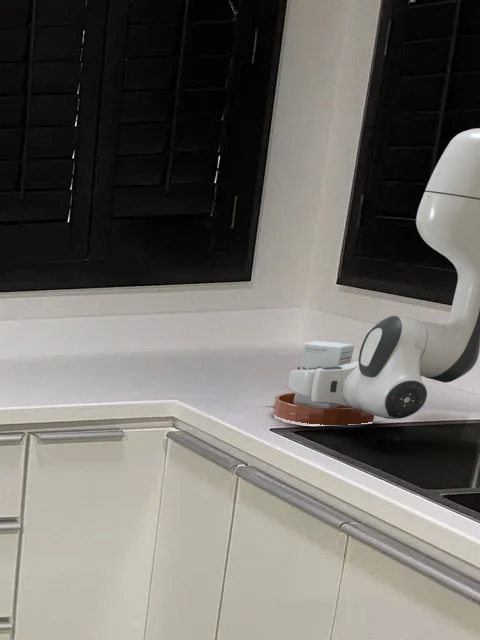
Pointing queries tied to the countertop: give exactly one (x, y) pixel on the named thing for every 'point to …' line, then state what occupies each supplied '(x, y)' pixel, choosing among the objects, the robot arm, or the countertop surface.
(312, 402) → the white packaging box
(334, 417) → the bowl
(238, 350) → the countertop surface
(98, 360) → the countertop surface
